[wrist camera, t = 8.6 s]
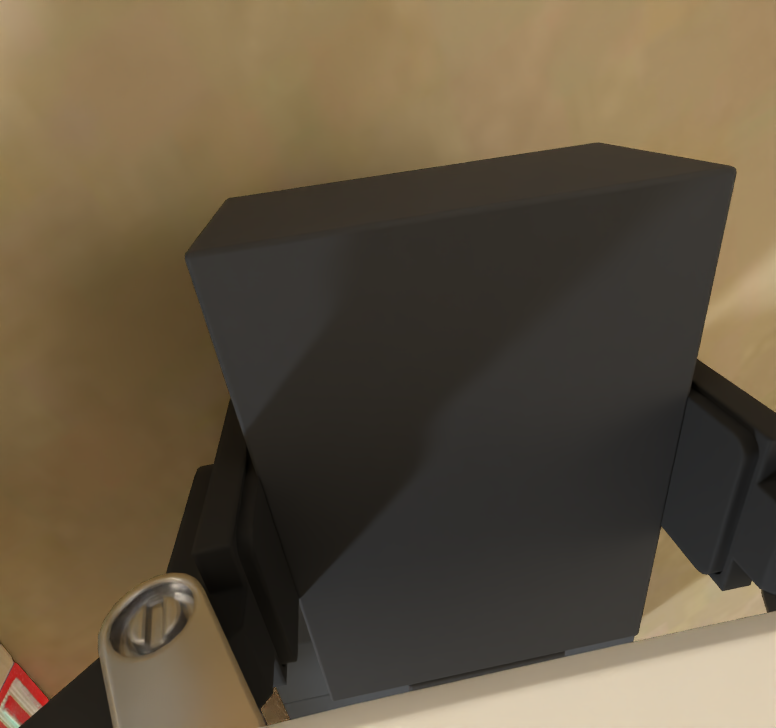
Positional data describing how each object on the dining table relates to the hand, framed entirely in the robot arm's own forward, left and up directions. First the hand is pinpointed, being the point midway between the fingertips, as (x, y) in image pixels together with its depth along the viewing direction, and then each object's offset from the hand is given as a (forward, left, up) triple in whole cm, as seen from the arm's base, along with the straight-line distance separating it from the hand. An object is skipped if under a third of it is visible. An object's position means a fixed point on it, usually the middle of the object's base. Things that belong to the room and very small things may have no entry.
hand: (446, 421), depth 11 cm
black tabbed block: (+1, 0, -1) cm, 2 cm away
